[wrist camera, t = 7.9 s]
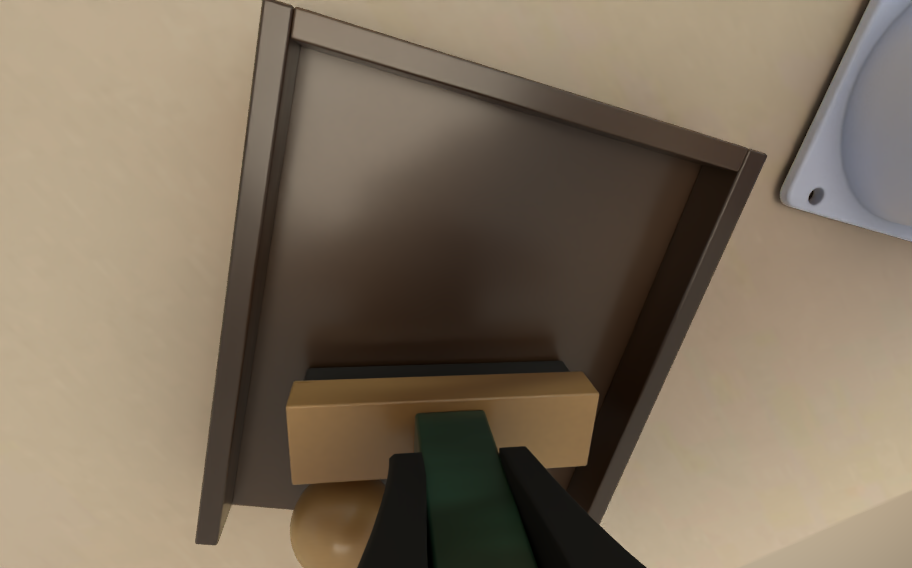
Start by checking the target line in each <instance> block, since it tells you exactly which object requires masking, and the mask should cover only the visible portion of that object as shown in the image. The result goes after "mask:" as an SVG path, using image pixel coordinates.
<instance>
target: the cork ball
mask: <svg viewBox="0 0 912 568" xmlns="http://www.w3.org/2000/svg"><path fill="white" fill-rule="evenodd" d="M384 490H385V484H384V483H383V482H382V481H381V480H380V479H378V480H363V481H348V482H333V483H318V484H310V485H309V486H308V487H307V488H306V489H305V490H304V492H303V493H302V494H301V496H300V498H299V499H298V501H297V503H296V505H295V508H294V510H293V514H292V518H291V524H290V537H291V544H292V548H293V551H294V553H295V556H296V558H297V559H298V561H299V563H300V564H301V565H302V567H303V568H357V567H358V564H359V562H360V559H361V557H362V554H363V552H364V550H365V547H366V545H367V542H368V540H369V537H370V534H371V532H372V529H373V526H374V523H375V520H376V517H377V514H378V511H379V508H380V505H381V501H382V497H383V494H384Z"/></svg>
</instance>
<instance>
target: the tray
mask: <svg viewBox="0 0 912 568" xmlns="http://www.w3.org/2000/svg"><path fill="white" fill-rule="evenodd" d="M766 158H767V155H766V154H765V153H762V152H759V151H756V150H752V149H748V148H746V147H743V146H740V145H737V144H734V143H730V142H727V141H724V140H721V139H718V138H714V137H711V136H708V135H705V134H702V133H698V132H695V131H692V130H689V129H686V128H682V127H679V126H676V125H673V124H670V123H667V122H663V121H660V120H657V119H654V118H651V117H647V116H644V115H641V114H638V113H635V112H631V111H628V110H625V109H622V108H619V107H615V106H612V105H609V104H606V103H603V102H600V101H596V100H593V99H590V98H587V97H584V96H580V95H577V94H574V93H571V92H568V91H564V90H561V89H558V88H555V87H552V86H548V85H545V84H542V83H539V82H536V81H532V80H529V79H526V78H523V77H520V76H517V75H513V74H510V73H507V72H504V71H501V70H497V69H494V68H491V67H488V66H485V65H481V64H478V63H475V62H472V61H469V60H465V59H462V58H459V57H456V56H453V55H449V54H446V53H443V52H440V51H437V50H434V49H430V48H427V47H424V46H421V45H418V44H414V43H411V42H408V41H405V40H402V39H398V38H395V37H392V36H389V35H386V34H382V33H379V32H376V31H373V30H370V29H366V28H363V27H360V26H357V25H354V24H351V23H347V22H344V21H341V20H338V19H335V18H331V17H328V16H325V15H322V14H319V13H315V12H312V11H309V10H306V9H303V8H299V7H295V8H294V7H293V6H292V5H289V4H286V3H283V2H280V1H277V0H262V7H261V15H260V23H259V31H258V39H257V47H256V55H255V63H254V71H253V79H252V88H251V96H250V104H249V112H248V120H247V128H246V136H245V144H244V152H243V160H242V168H241V176H240V184H239V192H238V200H237V209H236V217H235V225H234V233H233V241H232V249H231V257H230V265H229V273H228V281H227V289H226V297H225V305H224V313H223V322H222V330H221V338H220V346H219V354H218V362H217V370H216V378H215V386H214V394H213V402H212V410H211V418H210V426H209V434H208V443H207V451H206V459H205V467H204V475H203V483H202V491H201V499H200V507H199V515H198V523H197V531H196V539H195V543H196V544H203V545H217V543H218V541H219V539H220V536H221V533H222V530H223V528H224V525H225V522H226V519H227V517H228V514H229V511H230V508H231V505H243V506H255V507H267V508H278V509H290V510H294V508H295V505H296V503H297V501H298V499H299V498H300V496H301V494H302V493H303V492H304V490H305V489H306V488H307V487H308V486H309V485H310V484H302V485H293V484H292V479H291V467H290V455H289V443H288V431H287V419H286V404H287V401H288V398H289V394H290V391H291V388H292V384H293V382H294V381H304V378H305V375H306V371H307V369H309V368H333V367H367V366H400V365H434V364H468V363H501V362H535V361H563V362H564V364H565V365H566V366H567V368H568V369H569V371H570V372H576V371H581V372H583V373H584V374H585V375H586V377H587V378H588V379H589V381H590V382H591V383H592V385H593V386H594V387H595V389H596V390H597V391H598V393H599V399H598V405H597V410H596V416H595V422H594V427H593V433H592V438H591V444H590V449H589V455H588V461H587V465H586V466H575V467H560V468H546V470H547V471H548V472H549V473H550V474H551V475H552V476H553V477H554V478H555V480H556V481H557V482H558V483H559V484H560V485H561V486H562V487H563V488H564V489H565V490H566V492H567V493H568V494H569V495H570V496H571V497H572V498H573V499H574V500H575V501H576V502H577V503H578V504H579V505H580V506H581V507H582V508H583V509H584V510H585V511H586V512H587V513H588V514H589V515H590V516H591V517H592V518H593V519H594V520H595V521H596V522H597V523H598V524H600V522H601V520H602V518H603V515H604V513H605V511H606V509H607V507H608V504H609V502H610V500H611V498H612V496H613V494H614V491H615V489H616V487H617V485H618V483H619V480H620V478H621V476H622V474H623V472H624V469H625V467H626V465H627V463H628V461H629V458H630V456H631V454H632V452H633V450H634V447H635V445H636V443H637V441H638V439H639V436H640V434H641V432H642V430H643V428H644V426H645V423H646V421H647V419H648V417H649V415H650V412H651V410H652V408H653V406H654V404H655V401H656V399H657V397H658V395H659V393H660V390H661V388H662V386H663V384H664V382H665V379H666V377H667V375H668V373H669V371H670V368H671V366H672V364H673V362H674V360H675V357H676V355H677V353H678V351H679V349H680V347H681V344H682V342H683V340H684V338H685V336H686V333H687V331H688V329H689V327H690V325H691V322H692V320H693V318H694V316H695V314H696V311H697V309H698V307H699V305H700V303H701V300H702V298H703V296H704V294H705V292H706V289H707V287H708V285H709V283H710V281H711V278H712V276H713V274H714V272H715V270H716V268H717V265H718V263H719V261H720V259H721V257H722V254H723V252H724V250H725V248H726V246H727V243H728V241H729V239H730V237H731V235H732V232H733V230H734V228H735V226H736V224H737V221H738V219H739V217H740V215H741V213H742V210H743V208H744V206H745V204H746V202H747V199H748V197H749V195H750V193H751V191H752V189H753V186H754V184H755V182H756V180H757V178H758V175H759V173H760V171H761V169H762V167H763V164H764V162H765V160H766ZM380 480H381V481H382V482H383V483H384V484H385V486H386V481H387V479H380Z"/></svg>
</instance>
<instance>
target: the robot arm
mask: <svg viewBox="0 0 912 568" xmlns="http://www.w3.org/2000/svg"><path fill="white" fill-rule="evenodd" d="M812 190H813V191H814V193H813V196H812V198H811V199H810V200H808V198H809V194H810V193H811V192H812ZM780 200H781V201H782V203H783V204H784V205H786V206H788V207H792V208H795V209H799V210H802V211H806V212H809V213H813V214H816V215H820V216H823V217H827V218H830V219H834V220H837V221H841V222H844V223H848V224H851V225H855V226H858V227H862V228H865V229H869V230H872V231H876V232H879V233H883V234H886V235H890V236H893V237H897V238H900V239H903V240H907V241H910V242H912V0H870V2H869V4H868V6H867V8H866V10H865V12H864V14H863V16H862V18H861V21H860V23H859V25H858V27H857V29H856V31H855V33H854V35H853V37H852V40H851V42H850V44H849V46H848V48H847V50H846V52H845V54H844V56H843V58H842V61H841V63H840V65H839V67H838V69H837V71H836V73H835V75H834V77H833V80H832V82H831V84H830V86H829V88H828V90H827V92H826V94H825V96H824V99H823V101H822V103H821V105H820V107H819V109H818V111H817V113H816V115H815V118H814V120H813V122H812V124H811V126H810V128H809V130H808V132H807V134H806V137H805V139H804V141H803V143H802V145H801V147H800V149H799V151H798V153H797V156H796V158H795V160H794V162H793V164H792V166H791V168H790V170H789V172H788V175H787V177H786V179H785V181H784V183H783V185H782V187H781V191H780ZM499 456H500V459H501V462H502V465H503V468H504V470H505V473H506V476H507V479H508V482H509V485H510V488H511V490H512V493H513V496H514V499H515V502H516V505H517V507H518V510H519V513H520V516H521V519H522V522H523V525H524V528H525V531H526V534H527V537H528V540H529V543H530V546H531V548H532V551H533V554H534V557H535V560H536V563H537V566H538V568H646V567H645V566H644V565H643V564H642V563H640V562H639V561H638V560H637V559H636V558H635V557H633V556H632V555H631V554H630V553H629V552H628V551H626V550H625V549H624V548H623V547H622V546H621V545H620V544H619V543H618V542H617V541H616V540H614V539H613V538H612V537H611V536H610V535H609V534H608V533H607V532H606V531H605V530H604V529H603V528H602V527H601V526H600V525H599V524H598V523H597V522H596V521H595V520H594V519H593V518H592V517H591V516H590V515H589V514H588V513H587V512H586V511H585V510H584V509H583V508H582V507H581V506H580V505H579V504H578V503H577V502H576V501H575V500H574V499H573V498H572V497H571V496H570V495H569V494H568V493H567V492H566V490H565V489H564V488H563V487H562V486H561V485H560V484H559V483H558V482H557V481H556V480H555V478H554V477H553V476H552V475H551V474H550V473H549V472H548V471H547V470H546V468H545V467H544V466H543V465H542V464H541V463H540V462H539V461H538V459H537V458H536V457H535V456H534V455H533V454H532V453H531V452H530V450H529V449H528V448H527V447H526V446H519V447H502V448H499ZM357 568H428V560H427V499H426V471H425V466H424V461H423V456H422V452H417V453H400V454H394V455H392V456H391V457H390V458H389V470H388V476H387V481H386V486H385V490H384V494H383V497H382V501H381V505H380V508H379V511H378V514H377V517H376V520H375V523H374V526H373V529H372V532H371V534H370V537H369V540H368V542H367V545H366V547H365V550H364V552H363V554H362V557H361V559H360V562H359V564H358V567H357Z"/></svg>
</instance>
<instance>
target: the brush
mask: <svg viewBox="0 0 912 568" xmlns="http://www.w3.org/2000/svg"><path fill="white" fill-rule="evenodd" d="M598 399H599V393H598V391H597V390H596V389H595V387H594V386H593V385H592V383H591V382H590V381H589V379H588V378H587V377H586V375H585V374H584V373H583V372H581V371H576V372H570V371H569V369H568V368H567V366H566V365H565V364H564V362H563V361H535V362H501V363H468V364H434V365H400V366H367V367H333V368H309V369H307V371H306V375H305V378H304V381H294V382H293V384H292V388H291V391H290V394H289V398H288V401H287V404H286V419H287V431H288V443H289V455H290V467H291V479H292V484H293V485H302V484H318V483H333V482H348V481H363V480H378V479H387V476H388V470H389V458H390V457H391V456H392V455H394V454H400V453H417V452H422V456H423V461H424V466H425V471H426V499H427V560H428V568H538V566H537V563H536V560H535V557H534V554H533V551H532V548H531V546H530V543H529V540H528V537H527V534H526V531H525V528H524V525H523V522H522V519H521V516H520V513H519V510H518V507H517V505H516V502H515V499H514V496H513V493H512V490H511V488H510V485H509V482H508V479H507V476H506V473H505V470H504V468H503V465H502V462H501V459H500V456H499V448H502V447H519V446H526V447H527V448H528V449H529V450H530V452H531V453H532V454H533V455H534V456H535V457H536V458H537V459H538V461H539V462H540V463H541V464H542V465H543V466H544V467H545V468H560V467H575V466H586V465H587V461H588V455H589V449H590V444H591V438H592V433H593V427H594V422H595V416H596V410H597V405H598Z"/></svg>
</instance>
